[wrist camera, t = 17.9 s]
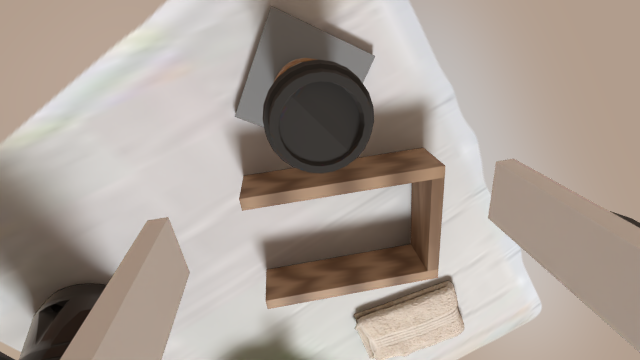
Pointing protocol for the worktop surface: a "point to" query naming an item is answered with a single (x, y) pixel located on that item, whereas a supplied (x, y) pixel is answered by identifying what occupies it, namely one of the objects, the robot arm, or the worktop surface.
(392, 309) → the washcloth
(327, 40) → the coaster
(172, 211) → the worktop surface
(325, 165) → the coffee cup
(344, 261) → the u-shaped wooden frame
